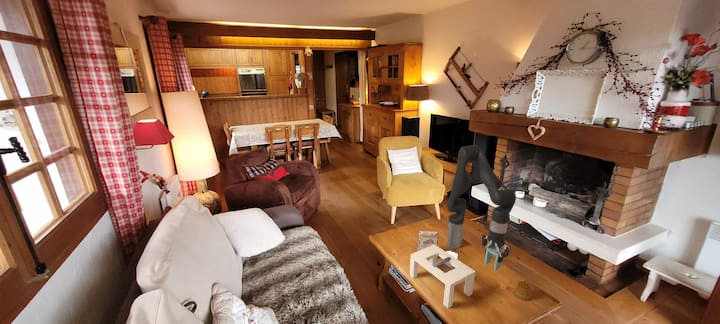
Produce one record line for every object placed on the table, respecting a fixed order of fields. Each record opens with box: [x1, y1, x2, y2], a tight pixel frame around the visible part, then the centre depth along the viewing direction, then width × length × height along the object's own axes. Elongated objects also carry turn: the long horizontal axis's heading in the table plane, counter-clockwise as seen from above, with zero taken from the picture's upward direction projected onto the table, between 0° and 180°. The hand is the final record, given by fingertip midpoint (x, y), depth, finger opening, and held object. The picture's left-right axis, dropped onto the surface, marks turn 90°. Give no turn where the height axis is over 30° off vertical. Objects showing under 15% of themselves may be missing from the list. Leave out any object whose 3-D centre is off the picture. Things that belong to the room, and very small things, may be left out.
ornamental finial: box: [513, 280, 532, 301], centre depth 146 cm, size 8×8×8 cm
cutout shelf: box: [409, 244, 476, 309], centre depth 153 cm, size 18×28×15 cm, turn 31°
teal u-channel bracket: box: [483, 246, 502, 272], centre depth 142 cm, size 4×6×9 cm, turn 32°
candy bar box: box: [417, 230, 439, 251], centre depth 176 cm, size 11×5×16 cm, turn 84°
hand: (493, 258), depth 142 cm, fingers closed on teal u-channel bracket, 6 cm apart
